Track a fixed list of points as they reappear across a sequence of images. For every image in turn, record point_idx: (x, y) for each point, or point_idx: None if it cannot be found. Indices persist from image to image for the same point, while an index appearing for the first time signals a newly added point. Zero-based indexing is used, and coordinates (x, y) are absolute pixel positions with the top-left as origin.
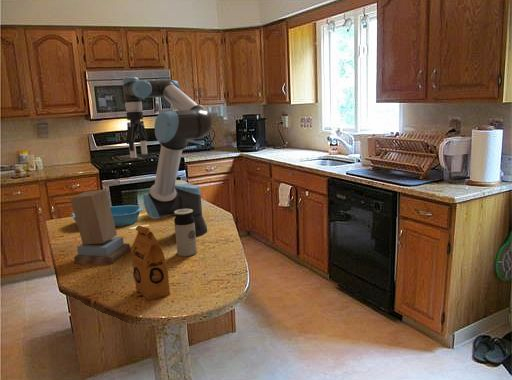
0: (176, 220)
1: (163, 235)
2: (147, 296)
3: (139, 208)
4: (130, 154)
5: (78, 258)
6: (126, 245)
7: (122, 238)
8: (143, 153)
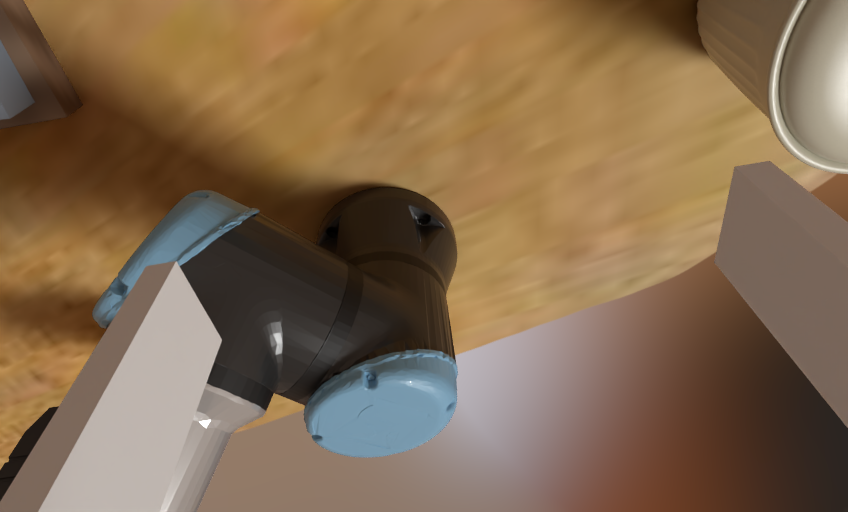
0: None
1: (316, 151)
2: None
3: None
4: (123, 319)
5: None
6: (38, 120)
7: (9, 116)
8: (732, 211)
